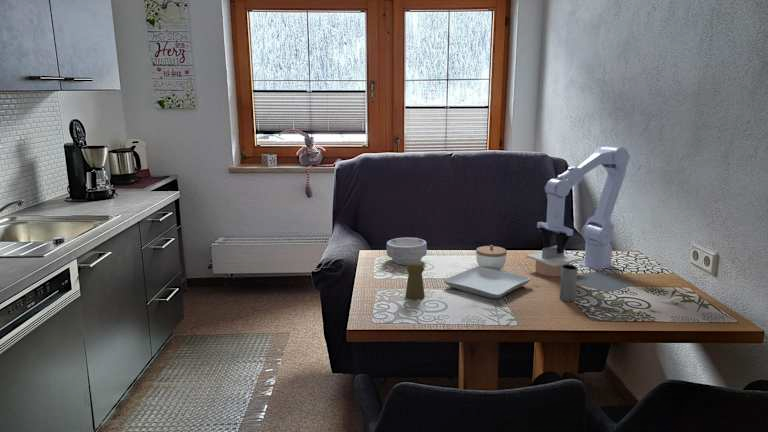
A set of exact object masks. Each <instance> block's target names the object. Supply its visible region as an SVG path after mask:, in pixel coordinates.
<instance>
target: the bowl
mask: <svg viewBox="0 0 768 432" xmlns="http://www.w3.org/2000/svg"><path fill="white" fill-rule="evenodd" d="M563 265H570V263H568V264H563ZM563 265H559V266H551V265H548V264H545V263H542V262H539V261H536V260H535V272H536V273H538V274H540V275H542V276H547V277H561V271H562V266H563Z"/></svg>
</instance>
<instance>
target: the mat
mask: <svg viewBox="0 0 768 432" xmlns="http://www.w3.org/2000/svg"><path fill="white" fill-rule="evenodd" d="M576 284H581V285H583V286H586V287H588V288H591V289H594V290H596V291H600V292H603V293H609V292H613V291H617V290H621V289H624V288H628V287H632V286H635V285H636V286H637V283H636V282H632V281H629V280H627V279H626V280H625V279H623V278H620V277H616V276H614V275H611V274H606V273H604V272H602V271H599V270H595V271H592V272H588V273H584V274H580V275H579V274H578V275H577V282H576Z"/></svg>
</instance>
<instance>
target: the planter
mask: <svg viewBox="0 0 768 432" xmlns="http://www.w3.org/2000/svg"><path fill="white" fill-rule="evenodd" d="M577 276H578V267H577V266H576V265H574V264H573V265H572V264H569V265H563V266H562V271H561V276H560V288H559V289H560V290H559V299H560V300H561V301H564V302H574V301H576V293H577V292H576V291H577V283H576V282H577Z"/></svg>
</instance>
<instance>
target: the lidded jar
mask: <svg viewBox="0 0 768 432" xmlns="http://www.w3.org/2000/svg"><path fill="white" fill-rule="evenodd" d="M475 253H476V254H475V255H476V263H477V265H478V266H480V267H484V268H489V269H494V270H499V271H502V269H503V267H504V266H505V264H506V260H507V249H506V248H504V247H501V246H494V245H493V244H490V245H483V246H479V247H477V248H476V249H475Z"/></svg>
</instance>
